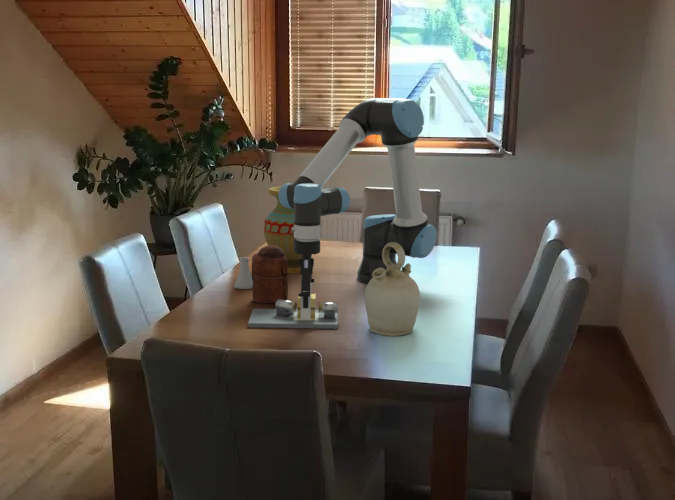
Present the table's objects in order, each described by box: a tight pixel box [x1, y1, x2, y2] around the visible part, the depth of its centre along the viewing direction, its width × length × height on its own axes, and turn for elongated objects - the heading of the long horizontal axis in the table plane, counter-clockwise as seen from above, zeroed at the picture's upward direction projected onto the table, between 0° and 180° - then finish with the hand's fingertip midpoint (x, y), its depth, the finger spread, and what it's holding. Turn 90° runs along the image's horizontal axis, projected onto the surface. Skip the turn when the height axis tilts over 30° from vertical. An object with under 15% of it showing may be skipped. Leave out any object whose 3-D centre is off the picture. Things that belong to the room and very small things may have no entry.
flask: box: [233, 256, 253, 290], centre depth 243 cm, size 7×7×10 cm
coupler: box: [297, 293, 317, 319], centre depth 208 cm, size 5×5×6 cm
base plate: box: [247, 308, 339, 330], centre depth 209 cm, size 25×14×1 cm, turn 91°
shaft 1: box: [274, 299, 298, 317], centre depth 210 cm, size 6×4×4 cm
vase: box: [263, 185, 303, 274], centre depth 267 cm, size 20×20×30 cm
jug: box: [364, 242, 421, 337], centre depth 200 cm, size 15×16×25 cm
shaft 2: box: [317, 302, 339, 319], centre depth 208 cm, size 6×4×4 cm
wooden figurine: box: [251, 244, 289, 305], centre depth 226 cm, size 12×6×18 cm, turn 84°
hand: (306, 311), depth 209 cm, fingers open, 13 cm apart
